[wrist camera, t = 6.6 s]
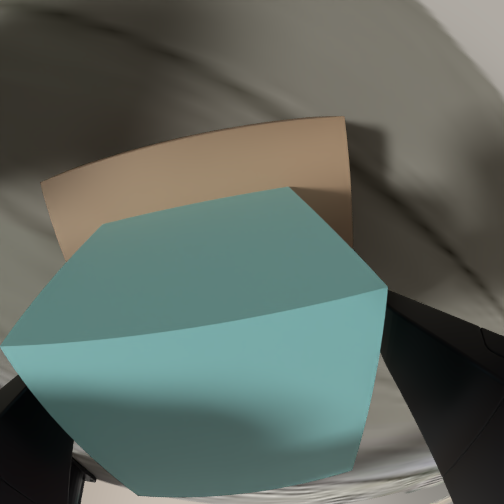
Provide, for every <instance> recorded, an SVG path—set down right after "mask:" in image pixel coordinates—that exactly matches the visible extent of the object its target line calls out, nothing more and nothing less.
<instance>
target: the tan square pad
mask: <svg viewBox="0 0 504 504" xmlns="http://www.w3.org/2000/svg"><path fill="white" fill-rule="evenodd" d="M40 184H41V188H42V192H43V195H44V199H45V202H46V205H47V209H48V212H49V215H50V218H51V221H52V224H53V228H54V230H55V233H56V236H57V239H58V242H59V245H60V247H61V250H62V253H63V255H64V258H65V261H66V262H67V261H68V260H69V259H70V258H71V257H72V256H73V255H74V253H75V252H76V251H77V250H78V249H79V248H80V247H81V246H82V245H83V244H84V243H85V242H86V241H87V240H88V239H89V238H90V236H91V235H92V234H93V233H94V232H95V231H96V230H97V229H98V228H99V227H100V226H101V225H102V224H106V223H110V222H114V221H118V220H122V219H126V218H130V217H135V216H139V215H143V214H148V213H152V212H156V211H161V210H166V209H170V208H175V207H180V206H184V205H189V204H194V203H199V202H204V201H209V200H214V199H220V198H225V197H230V196H236V195H241V194H247V193H253V192H258V191H264V190H270V189H276V188H283V187H290V188H291V189H292V190H293V191H294V192H295V193H296V194H297V195H298V196H299V197H300V198H301V199H302V200H303V201H304V202H305V203H307V204H308V205H309V206H310V207H311V208H312V209H313V210H314V211H315V212H316V213H317V214H318V215H319V216H320V217H321V218H322V219H323V220H324V221H325V222H326V223H327V224H328V225H329V226H330V227H331V228H332V229H333V230H334V231H335V232H336V233H337V234H338V235H339V236H340V237H341V238H342V239H343V240H344V241H345V242H346V243H347V244H348V245H349V246H350V247H351V248H352V249H353V222H352V199H351V182H350V168H349V156H348V145H347V135H346V126H345V118H344V116H327V117H307V118H297V119H288V120H280V121H272V122H264V123H257V124H251V125H244V126H238V127H232V128H226V129H221V130H215V131H210V132H205V133H200V134H195V135H191V136H186V137H181V138H177V139H173V140H168V141H164V142H160V143H156V144H152V145H148V146H145V147H141V148H137V149H134V150H130V151H126V152H123V153H119V154H116V155H113V156H109V157H106V158H103V159H100V160H97V161H94V162H91V163H88V164H85V165H82V166H79V167H76V168H73V169H71V170H68V171H66V172H63V173H61V174H59V175H56V176H54V177H51V178H49V179H47V180H45V181H42V182H40Z"/></svg>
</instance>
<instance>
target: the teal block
mask: <svg viewBox="0 0 504 504" xmlns="http://www.w3.org/2000/svg"><path fill="white" fill-rule="evenodd" d="M387 292H388V287H387V285H386V284H385V283H384V282H383V281H382V280H381V279H380V278H379V277H378V276H377V275H376V273H375V272H374V271H373V270H372V269H371V268H370V267H369V266H368V265H367V264H366V263H365V262H364V261H363V260H362V259H361V258H360V256H359V255H358V254H357V253H356V252H355V251H354V250H353V249H352V248H351V247H350V246H349V245H348V244H347V243H346V242H345V241H344V240H343V239H342V238H341V237H340V236H339V235H338V234H337V233H336V232H335V231H334V230H333V229H332V228H331V227H330V226H329V225H328V224H327V223H326V222H325V221H324V220H323V219H322V218H321V217H320V216H319V215H318V214H317V213H316V212H315V211H314V210H313V209H312V208H311V207H310V206H309V205H308V204H307V203H305V202H304V201H303V200H302V199H301V198H300V197H299V196H298V195H297V194H296V193H295V192H294V191H293V190H292V189H291V188H290V187H283V188H276V189H270V190H264V191H258V192H253V193H247V194H241V195H236V196H230V197H225V198H220V199H214V200H209V201H204V202H199V203H194V204H189V205H184V206H180V207H175V208H170V209H166V210H161V211H156V212H152V213H148V214H143V215H139V216H135V217H130V218H126V219H122V220H118V221H114V222H110V223H106V224H102V225H101V226H100V227H99V228H98V229H97V230H96V231H95V232H94V233H93V234H92V235H91V236H90V238H89V239H88V240H87V241H86V242H85V243H84V244H83V245H82V246H81V247H80V248H79V249H78V250H77V251H76V252H75V253H74V255H73V256H72V257H71V258H70V259H69V260H68V261H67V262H66V263H65V264H64V266H63V267H62V268H61V269H60V270H59V271H58V272H57V274H56V275H55V276H54V277H53V278H52V279H51V280H50V282H49V283H48V284H47V285H46V286H45V288H44V289H43V290H42V291H41V292H40V294H39V295H38V296H37V297H36V299H35V300H34V301H33V302H32V304H31V305H30V306H29V307H28V309H27V310H26V311H25V312H24V314H23V315H22V316H21V318H20V319H19V320H18V322H17V323H16V324H15V326H14V327H13V328H12V330H11V331H10V333H9V334H8V335H7V337H6V338H5V340H4V341H3V342H2V344H1V345H0V348H1V349H2V351H3V352H4V354H5V356H6V357H7V359H8V360H9V362H10V363H11V365H12V366H13V367H14V369H15V370H16V372H17V373H18V375H19V376H20V377H21V379H22V380H23V381H24V383H25V384H26V385H27V387H28V388H29V389H30V391H31V392H32V393H33V394H34V396H35V397H36V398H37V399H38V401H39V402H40V403H41V404H42V406H43V407H44V408H45V409H46V410H47V411H48V413H49V414H50V415H51V416H52V417H53V418H54V419H55V421H56V422H57V423H58V424H59V425H60V426H61V427H62V428H63V429H64V430H65V431H66V433H67V434H68V435H69V436H70V437H71V438H72V439H73V440H74V441H75V442H76V443H77V444H78V445H79V446H80V447H81V448H82V449H83V450H84V451H85V452H87V453H88V454H89V455H90V456H91V457H92V458H93V459H94V460H95V461H96V462H97V463H98V464H100V465H101V466H102V467H103V468H104V469H105V470H106V471H108V472H109V473H110V474H111V475H112V476H114V477H115V478H116V479H117V480H118V481H120V482H121V483H122V484H123V485H125V486H126V487H127V488H129V489H130V490H131V491H133V492H134V493H135V494H137V495H138V496H150V497H207V496H222V495H234V494H243V493H251V492H259V491H265V490H272V489H277V488H283V487H288V486H293V485H298V484H303V483H307V482H311V481H316V480H320V479H323V478H327V477H331V476H335V475H338V474H341V473H345V472H348V471H351V470H352V469H353V466H354V462H355V459H356V456H357V452H358V449H359V445H360V442H361V438H362V434H363V430H364V426H365V422H366V418H367V414H368V410H369V406H370V401H371V397H372V392H373V387H374V382H375V377H376V371H377V366H378V360H379V354H380V348H381V341H382V334H383V327H384V319H385V311H386V302H387Z"/></svg>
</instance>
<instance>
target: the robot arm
mask: <svg viewBox="0 0 504 504" xmlns="http://www.w3.org/2000/svg"><path fill="white" fill-rule="evenodd" d="M380 352H381V355H382V357H383V360H384V362H385V364H386V366H387V368H388V370H389V372H390V373H391V375H392V377H393V379H394V381H395V383H396V384H397V386H398V388H399V390H400V392H401V394H402V396H403V398H404V400H405V402H406V403H407V405H408V407H409V409H410V411H411V413H412V415H413V417H414V419H415V421H416V423H417V425H418V427H419V429H420V431H421V433H422V435H423V437H424V439H425V441H426V443H427V445H428V447H429V450H430V452H431V454H432V456H433V458H434V460H435V462H436V464H437V467H438V469H439V471H440V473H441V475H442V477H443V480H444V483H445V485H446V487H447V489H448V492H449V494H450V496H451V499H452V501H453V503H454V504H504V336H502V335H499V334H497V333H494V332H492V331H489V330H487V329H484V328H480V327H479V326H477V325H474V324H472V323H469V322H467V321H465V320H462V319H460V318H457V317H455V316H452V315H450V314H447V313H445V312H442V311H440V310H437V309H435V308H432V307H430V306H427V305H425V304H422V303H420V302H417V301H415V300H412V299H410V298H407V297H405V296H402V295H400V294H397V293H394V292H392V291H389V290H388V292H387V302H386V311H385V319H384V327H383V334H382V341H381V348H380ZM73 443H74V440H73V439H72V438H71V437H70V436H69V435H68V434H67V433H66V431H65V430H64V429H63V428H62V427H61V426H60V425H59V424H58V423H57V422H56V421H55V419H54V418H53V417H52V416H51V415H50V414H49V413H48V411H47V410H46V409H45V408H44V407H43V406H42V404H41V403H40V402H39V401H38V399H37V398H36V397H35V396H34V394H33V393H32V392H31V391H30V389H29V388H28V387H27V385H26V384H25V383H24V381H23V380H22V379H21V377H20V376H19V375H17V376H16V377H15V378H13V379H12V380H11V381H10V382H9V383H7V384H6V385H5V386H4V387H3V388H1V389H0V504H81V498H82V493H83V487H84V482H85V481H89V482H96V478H95V477H94V476H93V475H91V474H90V473H89V472H88V471H87V470H85V469H84V468H83V467H82V466H81V465H79V464H78V463H77V462H76V461H75V460H74V459H73V458H72V451H73Z"/></svg>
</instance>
